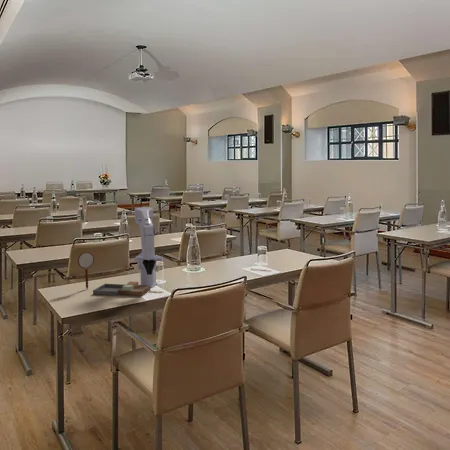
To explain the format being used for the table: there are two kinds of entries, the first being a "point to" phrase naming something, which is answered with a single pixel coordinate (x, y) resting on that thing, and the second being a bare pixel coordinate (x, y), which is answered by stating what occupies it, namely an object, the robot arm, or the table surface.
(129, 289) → the sage tile
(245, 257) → the table surface
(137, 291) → the brown tray
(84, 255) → the magnifying glass
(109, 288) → the box
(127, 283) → the terracotta tile
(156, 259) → the robot arm
